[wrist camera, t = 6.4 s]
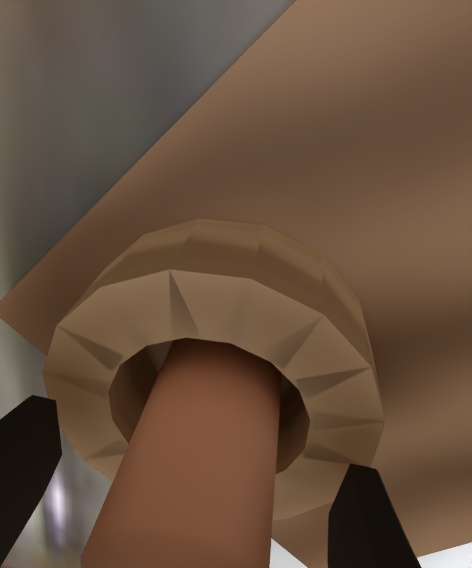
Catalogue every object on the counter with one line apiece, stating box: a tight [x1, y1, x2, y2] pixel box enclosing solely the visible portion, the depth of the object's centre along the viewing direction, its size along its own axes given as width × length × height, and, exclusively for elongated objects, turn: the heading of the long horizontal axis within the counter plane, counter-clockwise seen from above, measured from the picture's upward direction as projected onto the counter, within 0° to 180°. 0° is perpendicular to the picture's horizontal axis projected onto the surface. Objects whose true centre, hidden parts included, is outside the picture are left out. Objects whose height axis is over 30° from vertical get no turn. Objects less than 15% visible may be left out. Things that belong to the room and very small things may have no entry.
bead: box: [42, 218, 386, 520], centre depth 13 cm, size 9×9×3 cm
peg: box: [81, 337, 282, 568], centre depth 11 cm, size 4×4×7 cm
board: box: [0, 0, 472, 568], centre depth 14 cm, size 19×17×1 cm
